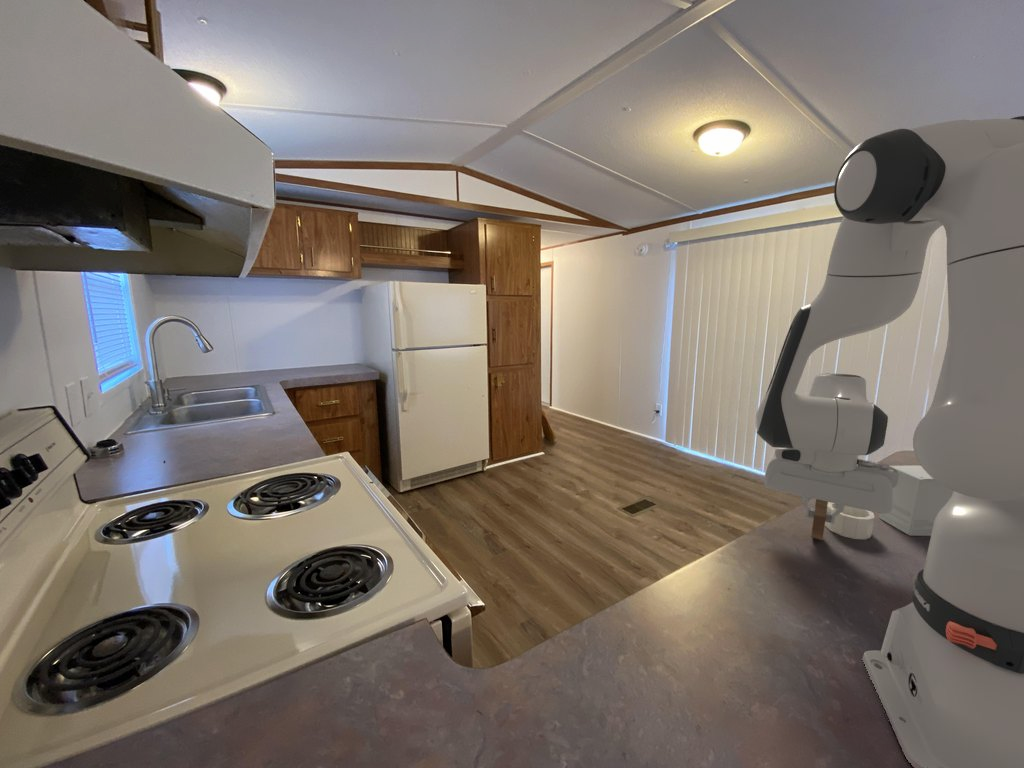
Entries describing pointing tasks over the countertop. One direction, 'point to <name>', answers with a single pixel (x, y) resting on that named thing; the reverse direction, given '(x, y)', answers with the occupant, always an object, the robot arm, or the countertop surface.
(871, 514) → the faceted white cup
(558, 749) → the countertop surface
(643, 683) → the countertop surface
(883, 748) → the countertop surface
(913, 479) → the supplement box
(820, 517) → the brown rectangular block
